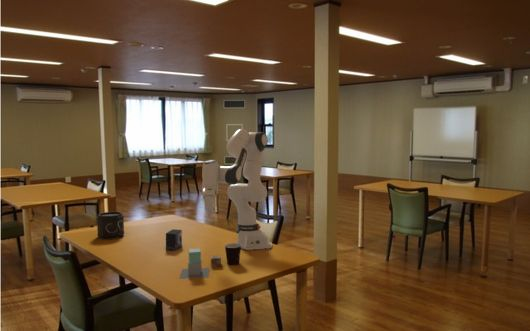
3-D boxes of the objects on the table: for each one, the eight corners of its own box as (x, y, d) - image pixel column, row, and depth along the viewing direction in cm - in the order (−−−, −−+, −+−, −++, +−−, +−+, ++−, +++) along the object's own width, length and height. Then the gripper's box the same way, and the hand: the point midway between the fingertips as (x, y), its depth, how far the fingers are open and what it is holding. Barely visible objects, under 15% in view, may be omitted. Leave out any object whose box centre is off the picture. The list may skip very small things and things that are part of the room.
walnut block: (220, 264, 215) (220, 255, 214) (220, 267, 210) (220, 258, 209) (211, 264, 214) (211, 255, 214) (211, 267, 209) (210, 258, 209)
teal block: (199, 259, 203) (199, 248, 203) (200, 262, 198) (200, 251, 197) (188, 260, 202) (188, 249, 201) (189, 263, 196) (189, 252, 196)
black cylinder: (131, 235, 277) (130, 212, 276) (108, 241, 262) (107, 217, 261) (114, 231, 287) (113, 210, 286) (91, 237, 272) (90, 214, 271)
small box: (175, 250, 240) (175, 233, 239) (165, 250, 241) (165, 233, 240) (182, 246, 250) (182, 229, 249) (172, 245, 251) (172, 229, 251)
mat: (209, 268, 208) (209, 267, 208) (208, 278, 194) (208, 277, 194) (182, 269, 207) (182, 268, 207) (179, 279, 193) (179, 278, 193)
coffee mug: (234, 267, 210) (234, 248, 209) (221, 264, 214) (221, 246, 213) (247, 261, 219) (247, 243, 219) (234, 258, 224) (234, 241, 223)
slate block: (201, 270, 204) (201, 259, 203) (200, 274, 198) (200, 263, 197) (189, 271, 203) (189, 259, 203) (188, 275, 197) (188, 263, 197)
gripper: (206, 188, 226) (206, 212, 226) (202, 192, 205) (202, 219, 206) (217, 188, 226) (217, 212, 227) (215, 192, 206) (215, 219, 206)
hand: (210, 215), depth 216 cm, fingers open, 8 cm apart
